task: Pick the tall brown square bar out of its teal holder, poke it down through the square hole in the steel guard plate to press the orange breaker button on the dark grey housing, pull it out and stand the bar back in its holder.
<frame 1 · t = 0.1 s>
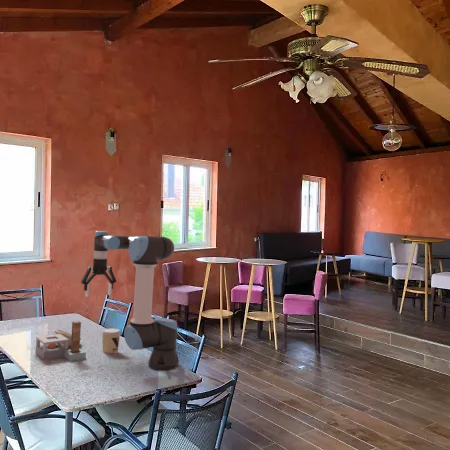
hand: (98, 295, 244), 28 cm above the table, fingers open, 13 cm apart
coffee cup: (110, 353, 232), on the table
holder: (74, 359, 218), on the table
brown square bar: (74, 357, 218), point 1 cm above the table, touching holder
button: (52, 346, 220), point 5 cm above the table, slide at 0.0 cm
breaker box: (51, 356, 220), on the table
bowl: (66, 346, 238), on the table
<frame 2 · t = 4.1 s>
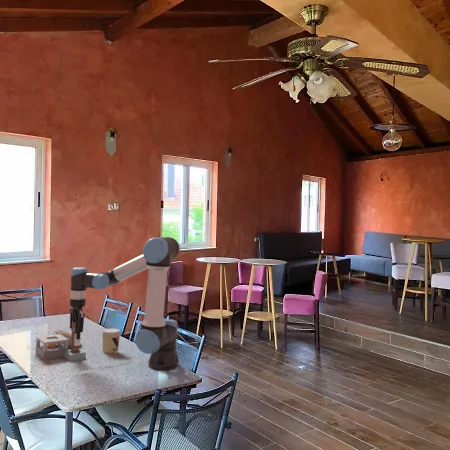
hand: (75, 344, 218), 8 cm above the table, fingers closed on brown square bar, 3 cm apart
brown square bar: (74, 357, 218), point 1 cm above the table, touching gripper
everything else where it was.
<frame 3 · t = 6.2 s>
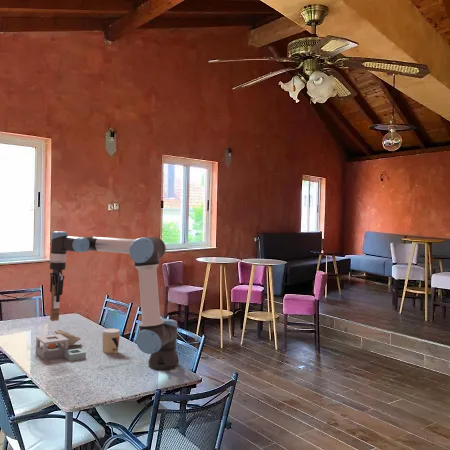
hand: (55, 307, 220), 25 cm above the table, fingers closed on brown square bar, 3 cm apart
brown square bar: (54, 320, 220), point 19 cm above the table, touching gripper
everything else where it was.
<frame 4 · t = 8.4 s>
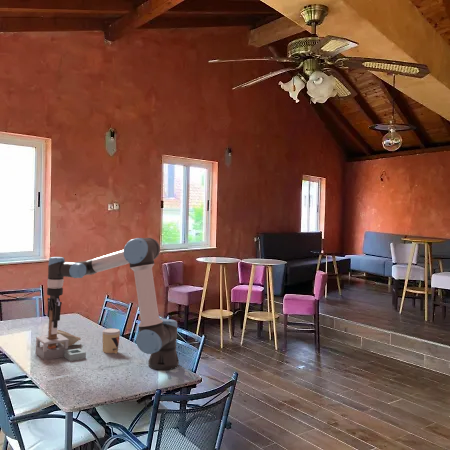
hand: (52, 332, 220), 12 cm above the table, fingers closed on brown square bar, 3 cm apart
brown square bar: (52, 345, 220), point 6 cm above the table, touching button, gripper
button: (51, 350, 220), point 3 cm above the table, slide at 1.9 cm, touching brown square bar
everything else where it was.
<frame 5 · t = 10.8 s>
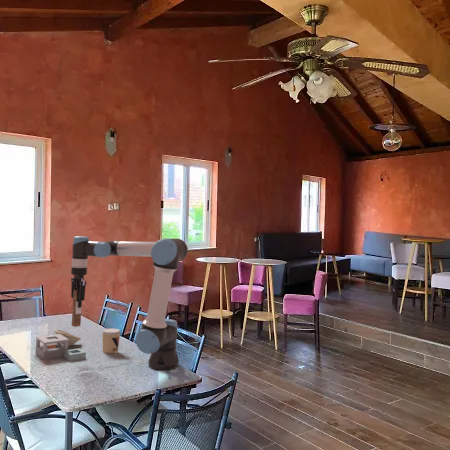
hand: (76, 313, 218), 23 cm above the table, fingers closed on brown square bar, 3 cm apart
brown square bar: (76, 325, 218), point 17 cm above the table, touching gripper
button: (51, 350, 220), point 3 cm above the table, slide at 1.9 cm
everything else where it was.
when the fingers open (9 cm above the table, at t = 13.2 s): brown square bar drops 1 cm, resting on holder.
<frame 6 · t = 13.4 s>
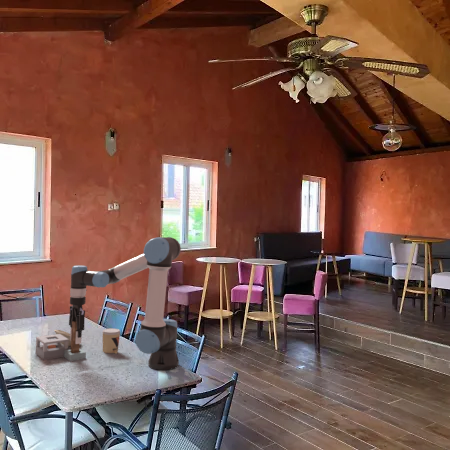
hand: (75, 341, 218), 9 cm above the table, fingers open, 6 cm apart
brown square bar: (74, 357, 218), point 1 cm above the table, touching holder
everything else where it was.
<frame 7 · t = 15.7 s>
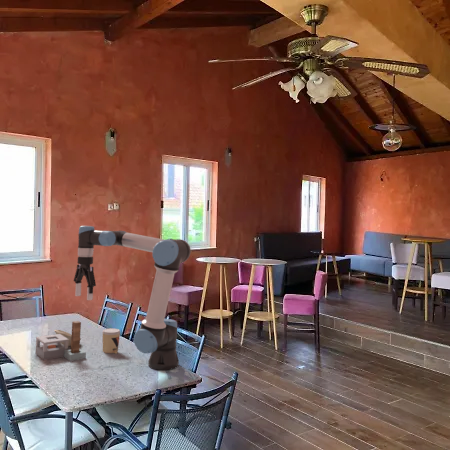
hand: (83, 298, 219), 31 cm above the table, fingers open, 13 cm apart
nothing on the table moved.
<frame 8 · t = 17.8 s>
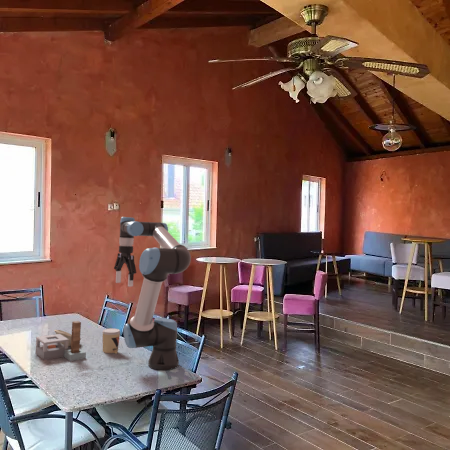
hand: (124, 284, 234), 37 cm above the table, fingers open, 13 cm apart
nothing on the table moved.
at the end: button slide at 1.9 cm; brown square bar 0.0 cm off-centre on the holder, point 1.0 cm above the holder's base; the gripper is holding nothing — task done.
